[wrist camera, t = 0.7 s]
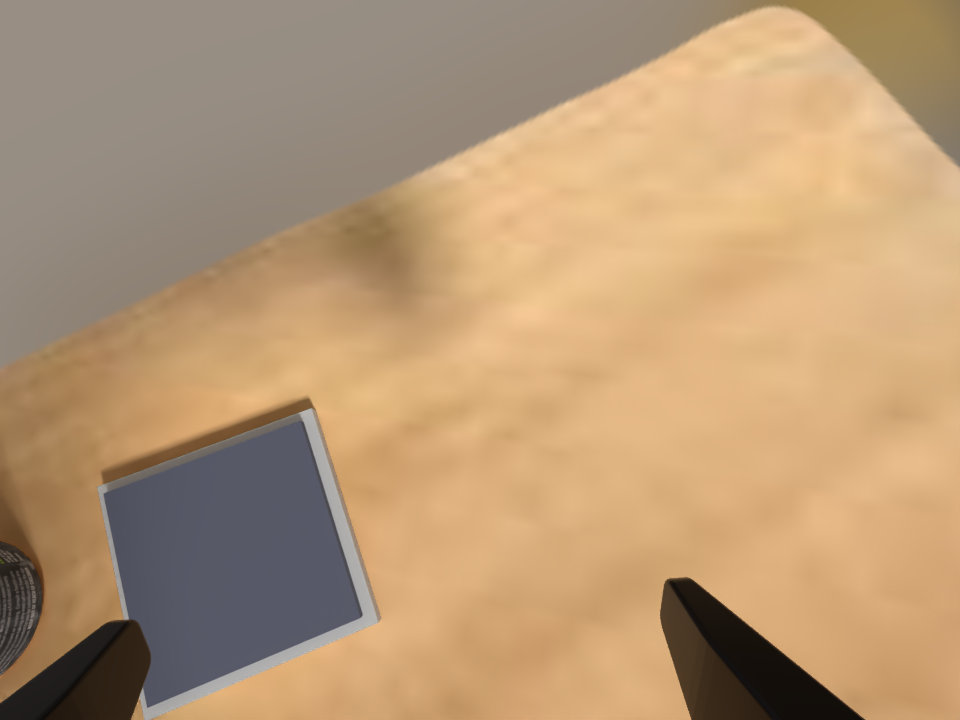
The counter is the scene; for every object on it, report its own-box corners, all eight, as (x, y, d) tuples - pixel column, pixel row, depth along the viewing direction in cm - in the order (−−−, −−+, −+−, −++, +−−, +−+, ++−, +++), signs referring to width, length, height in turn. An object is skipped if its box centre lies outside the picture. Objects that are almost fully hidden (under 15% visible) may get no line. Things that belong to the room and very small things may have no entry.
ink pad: (381, 618, 22) (376, 625, 21) (155, 714, 21) (136, 727, 20) (315, 410, 24) (308, 406, 23) (108, 487, 23) (88, 486, 22)
